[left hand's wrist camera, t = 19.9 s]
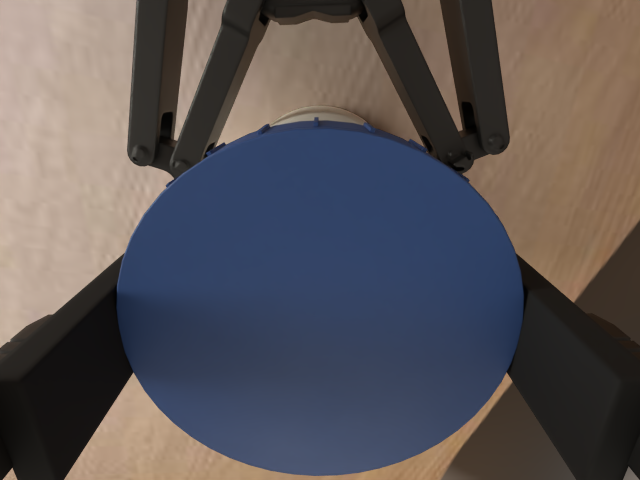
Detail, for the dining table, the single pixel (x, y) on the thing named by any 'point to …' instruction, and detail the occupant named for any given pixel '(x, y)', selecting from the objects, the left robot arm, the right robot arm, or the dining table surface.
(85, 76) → the dining table surface
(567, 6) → the dining table surface
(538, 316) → the left robot arm
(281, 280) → the lid
